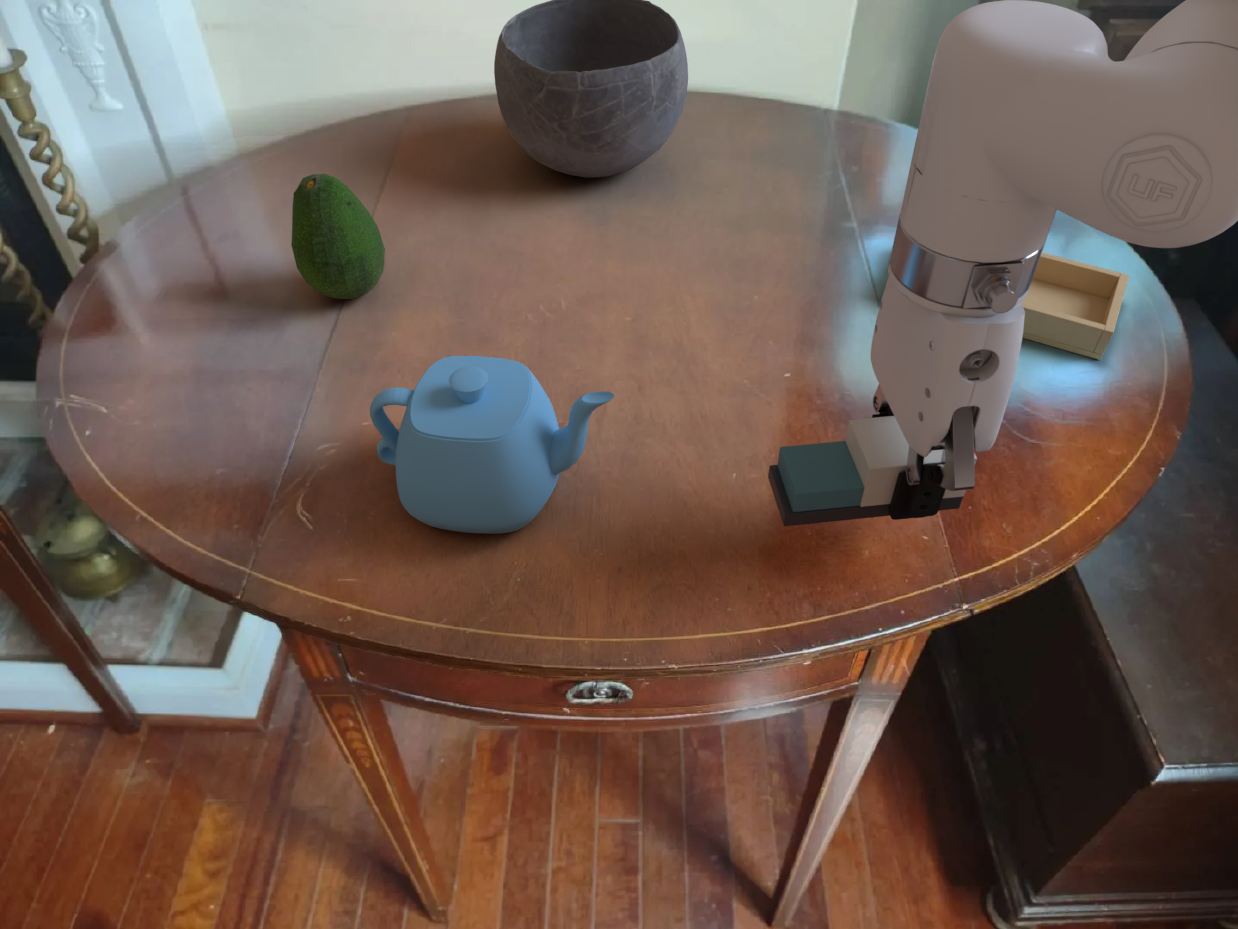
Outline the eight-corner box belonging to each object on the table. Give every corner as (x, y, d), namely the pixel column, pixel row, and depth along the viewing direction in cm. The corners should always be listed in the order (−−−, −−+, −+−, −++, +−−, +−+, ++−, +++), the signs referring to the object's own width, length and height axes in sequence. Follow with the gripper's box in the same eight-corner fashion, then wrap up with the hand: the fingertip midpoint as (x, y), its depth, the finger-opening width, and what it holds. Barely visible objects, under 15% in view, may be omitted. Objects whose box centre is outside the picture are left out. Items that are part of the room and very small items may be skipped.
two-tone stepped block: (935, 460, 66) (951, 409, 63) (959, 508, 63) (977, 458, 60) (767, 477, 65) (774, 426, 62) (783, 527, 62) (791, 476, 59)
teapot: (602, 453, 60) (327, 431, 61) (604, 559, 67) (359, 536, 69) (624, 330, 68) (382, 313, 70) (624, 436, 76) (406, 419, 77)
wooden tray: (1116, 302, 88) (1129, 274, 86) (1100, 360, 83) (1113, 332, 80) (921, 249, 94) (928, 222, 92) (892, 300, 89) (899, 272, 86)
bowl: (505, 120, 114) (493, -11, 103) (674, 116, 114) (680, -16, 104) (500, 211, 100) (485, 70, 89) (693, 205, 100) (702, 64, 89)
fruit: (316, 270, 92) (284, 155, 84) (397, 268, 92) (374, 154, 84) (299, 319, 87) (263, 202, 78) (385, 318, 87) (359, 201, 78)
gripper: (1104, 344, 45) (1001, 577, 58) (971, 172, 57) (910, 398, 70) (953, 358, 45) (884, 590, 58) (850, 181, 57) (812, 407, 70)
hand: (899, 483), depth 64 cm, fingers closed on two-tone stepped block, 4 cm apart
